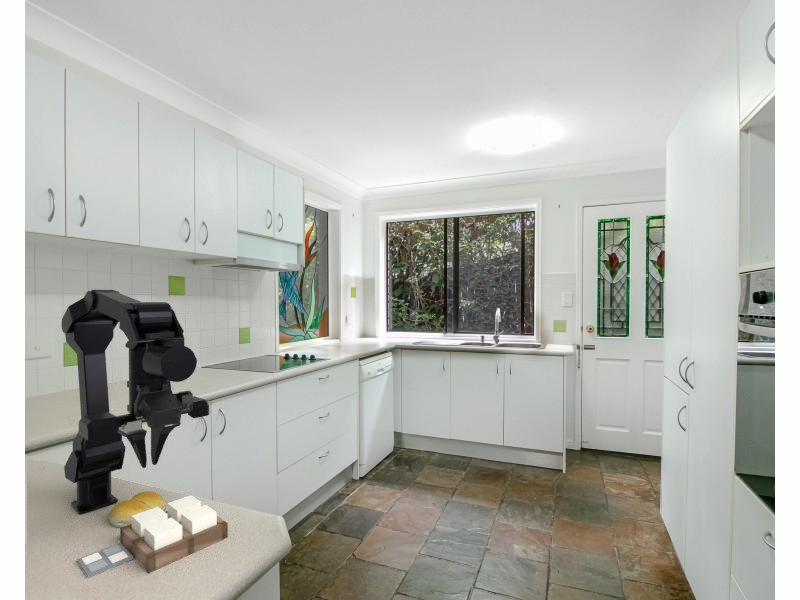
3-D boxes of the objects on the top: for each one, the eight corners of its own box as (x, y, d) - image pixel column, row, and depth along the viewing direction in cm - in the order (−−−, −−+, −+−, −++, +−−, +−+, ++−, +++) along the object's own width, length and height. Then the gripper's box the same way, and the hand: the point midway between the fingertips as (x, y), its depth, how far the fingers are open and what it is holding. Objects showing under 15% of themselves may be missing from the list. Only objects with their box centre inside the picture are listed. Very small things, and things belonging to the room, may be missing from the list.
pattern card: (76, 561, 68) (76, 558, 68) (120, 545, 72) (120, 542, 72) (87, 577, 64) (87, 574, 64) (132, 559, 68) (132, 555, 68)
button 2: (144, 545, 70) (144, 527, 69) (171, 534, 73) (171, 517, 73) (154, 556, 67) (154, 536, 67) (182, 544, 70) (182, 525, 70)
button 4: (181, 530, 74) (181, 513, 74) (205, 521, 77) (205, 504, 77) (192, 539, 71) (192, 521, 71) (216, 529, 74) (216, 512, 74)
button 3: (167, 519, 78) (167, 503, 78) (191, 510, 81) (190, 495, 81) (177, 527, 75) (177, 510, 75) (201, 518, 78) (201, 501, 78)
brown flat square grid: (120, 542, 73) (120, 527, 73) (194, 513, 83) (194, 500, 83) (148, 573, 65) (148, 556, 65) (227, 537, 75) (227, 523, 75)
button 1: (131, 533, 73) (131, 515, 73) (158, 523, 76) (157, 506, 76) (140, 542, 71) (140, 524, 71) (167, 531, 74) (167, 514, 74)
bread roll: (100, 525, 79) (99, 503, 79) (145, 503, 88) (144, 483, 88) (130, 534, 76) (130, 511, 76) (174, 510, 84) (174, 490, 84)
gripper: (98, 391, 61) (99, 500, 61) (224, 373, 75) (224, 461, 75) (77, 381, 68) (77, 478, 68) (195, 366, 82) (195, 447, 83)
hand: (149, 465), depth 73 cm, fingers closed
